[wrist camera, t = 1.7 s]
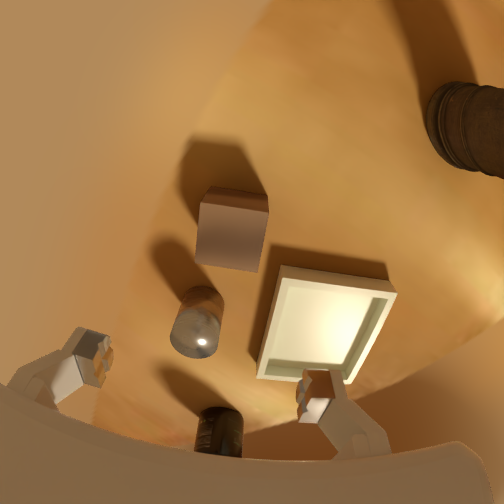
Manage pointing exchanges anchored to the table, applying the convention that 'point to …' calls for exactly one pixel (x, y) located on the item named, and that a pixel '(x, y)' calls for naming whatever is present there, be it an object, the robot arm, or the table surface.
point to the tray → (322, 323)
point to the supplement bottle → (220, 432)
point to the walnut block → (231, 229)
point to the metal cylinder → (198, 323)
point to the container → (468, 126)
